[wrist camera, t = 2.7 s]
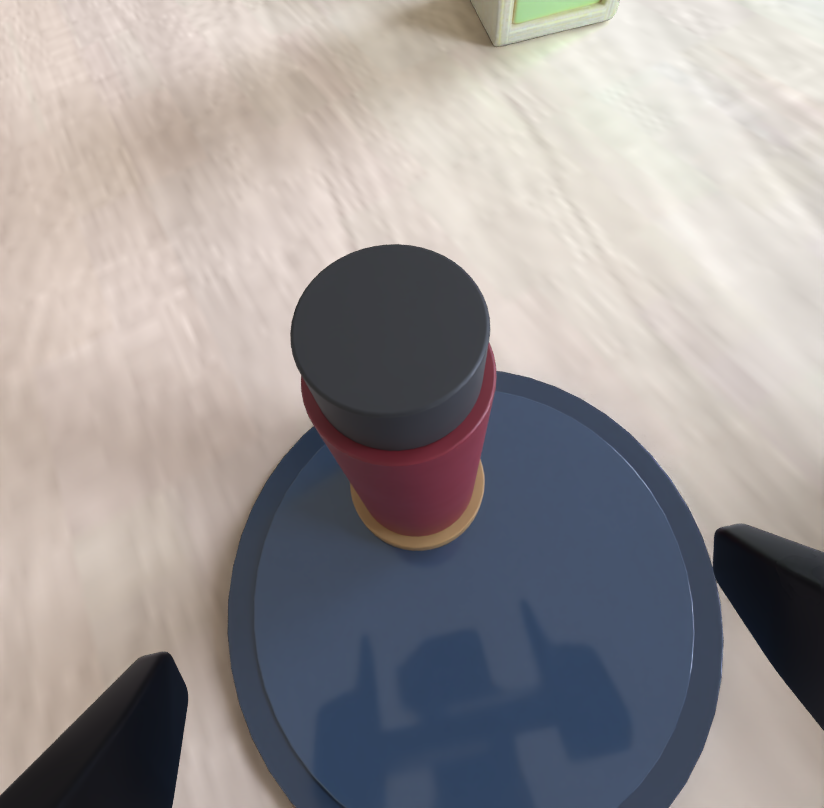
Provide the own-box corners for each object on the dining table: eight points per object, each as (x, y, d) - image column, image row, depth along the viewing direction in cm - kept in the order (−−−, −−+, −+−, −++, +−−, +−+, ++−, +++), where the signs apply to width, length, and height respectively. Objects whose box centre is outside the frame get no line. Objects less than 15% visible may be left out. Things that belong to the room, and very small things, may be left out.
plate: (677, 1010, 15) (684, 1021, 14) (141, 754, 18) (134, 757, 18) (744, 442, 21) (751, 438, 21) (339, 327, 25) (337, 322, 24)
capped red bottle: (460, 570, 19) (483, 495, 8) (333, 524, 20) (203, 404, 9) (498, 444, 21) (558, 249, 10) (380, 408, 22) (318, 192, 11)
